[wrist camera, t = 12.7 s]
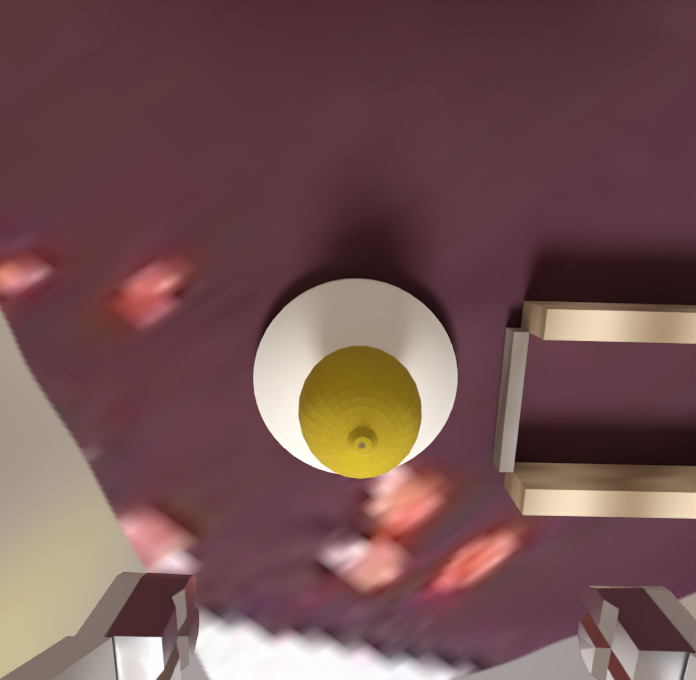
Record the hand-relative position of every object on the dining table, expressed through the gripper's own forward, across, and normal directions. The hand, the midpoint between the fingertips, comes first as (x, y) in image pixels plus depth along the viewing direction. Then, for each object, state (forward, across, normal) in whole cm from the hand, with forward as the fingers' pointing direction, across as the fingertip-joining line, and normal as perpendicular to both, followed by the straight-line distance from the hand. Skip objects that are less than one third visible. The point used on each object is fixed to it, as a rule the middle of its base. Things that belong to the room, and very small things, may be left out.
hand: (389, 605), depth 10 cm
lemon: (+16, 0, 0) cm, 16 cm away
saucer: (+17, +1, 0) cm, 17 cm away
